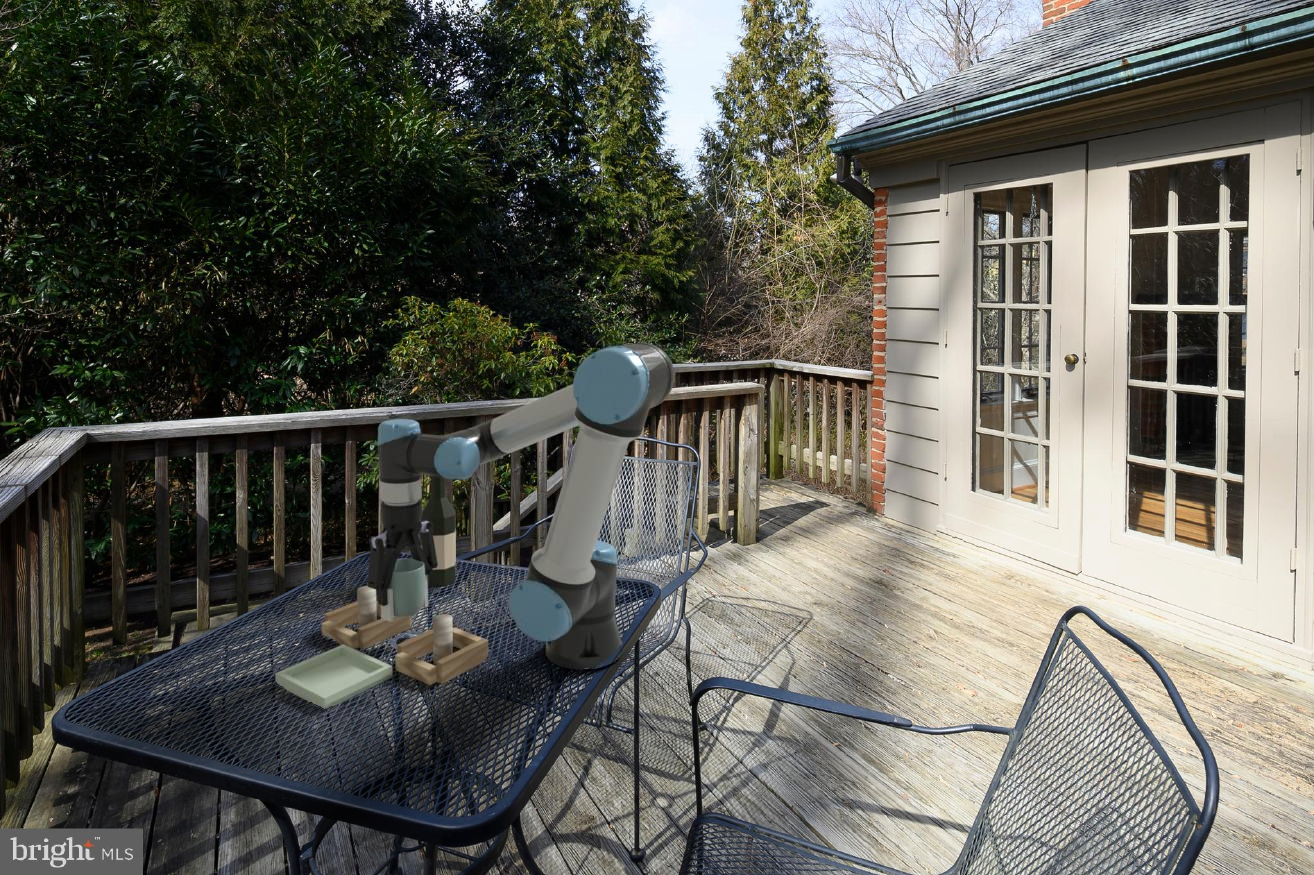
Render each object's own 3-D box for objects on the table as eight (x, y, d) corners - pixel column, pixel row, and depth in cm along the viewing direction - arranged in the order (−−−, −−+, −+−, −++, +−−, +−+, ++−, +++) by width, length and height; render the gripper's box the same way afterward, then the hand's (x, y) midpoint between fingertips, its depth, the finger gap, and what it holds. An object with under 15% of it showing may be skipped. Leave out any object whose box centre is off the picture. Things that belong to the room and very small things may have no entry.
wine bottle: (447, 588, 187) (446, 464, 180) (414, 584, 188) (412, 461, 182) (462, 575, 195) (462, 456, 188) (431, 571, 196) (429, 453, 190)
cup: (375, 616, 155) (373, 568, 153) (402, 602, 162) (400, 555, 160) (408, 624, 152) (406, 575, 150) (434, 609, 159) (432, 562, 157)
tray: (392, 677, 146) (392, 666, 146) (325, 710, 135) (324, 698, 134) (343, 654, 153) (343, 644, 153) (275, 684, 142) (275, 673, 141)
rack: (493, 656, 156) (493, 613, 154) (435, 687, 143) (434, 641, 141) (378, 610, 173) (377, 571, 171) (317, 635, 161) (315, 593, 159)
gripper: (429, 486, 162) (432, 590, 167) (341, 509, 145) (347, 625, 150) (455, 492, 159) (457, 599, 163) (368, 516, 141) (374, 635, 146)
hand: (405, 611), depth 157 cm, fingers closed on cup, 8 cm apart
